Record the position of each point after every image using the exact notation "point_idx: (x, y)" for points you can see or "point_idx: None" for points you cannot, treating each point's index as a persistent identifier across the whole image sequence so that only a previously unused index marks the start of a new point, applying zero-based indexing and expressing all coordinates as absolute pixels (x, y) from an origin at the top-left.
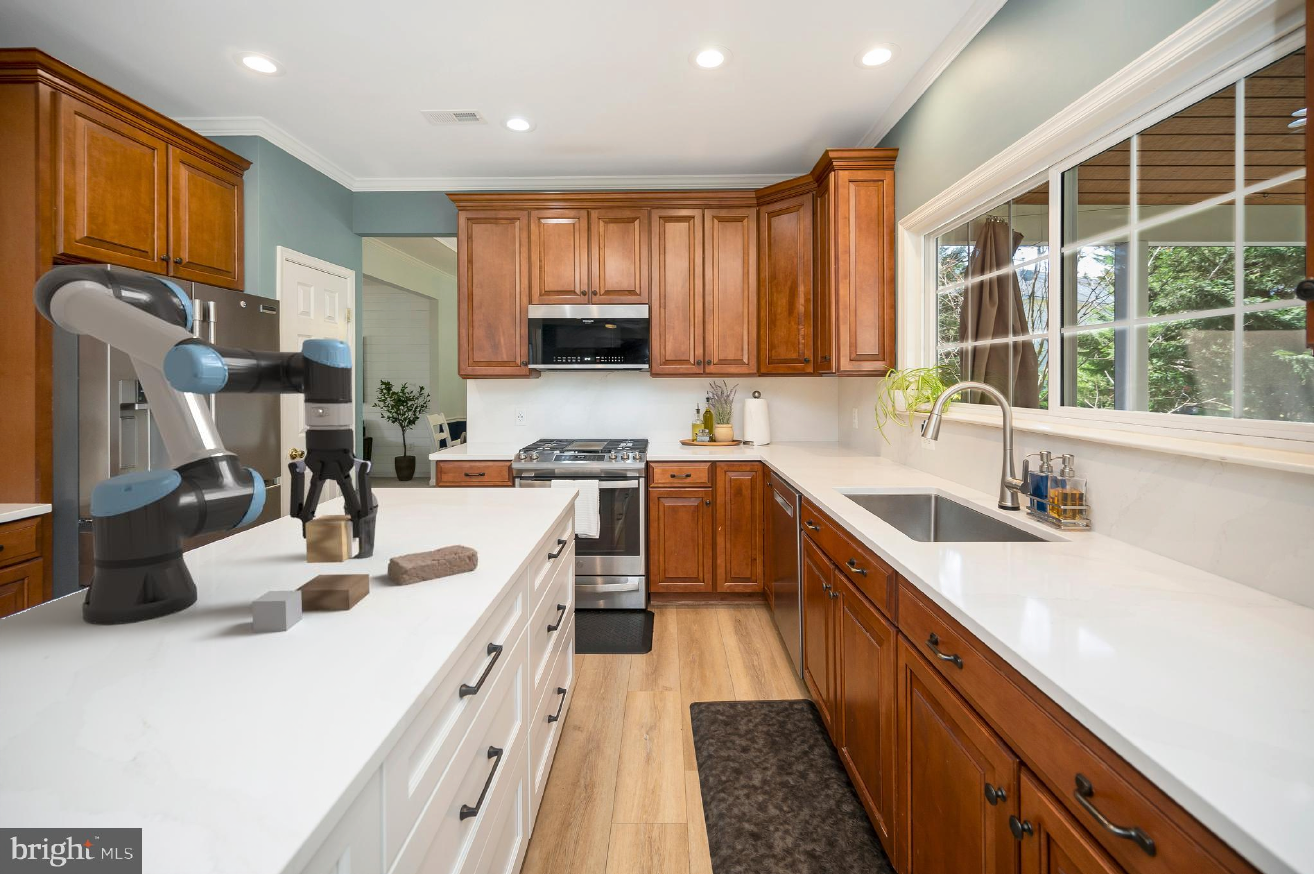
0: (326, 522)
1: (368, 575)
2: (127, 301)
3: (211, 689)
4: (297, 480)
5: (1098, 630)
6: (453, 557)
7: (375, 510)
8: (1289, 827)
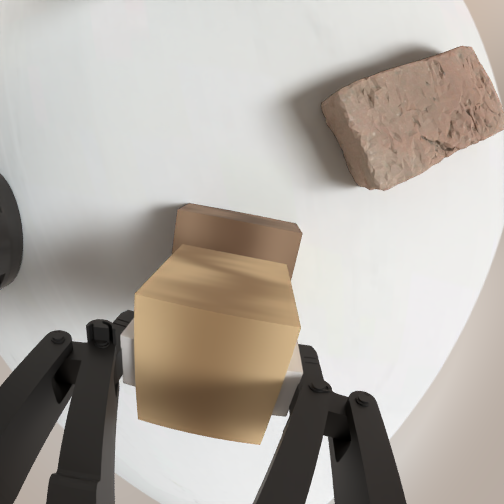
0: (204, 430)
1: (301, 235)
2: None
3: (191, 466)
4: (17, 490)
5: None
6: (472, 141)
7: None
8: None
